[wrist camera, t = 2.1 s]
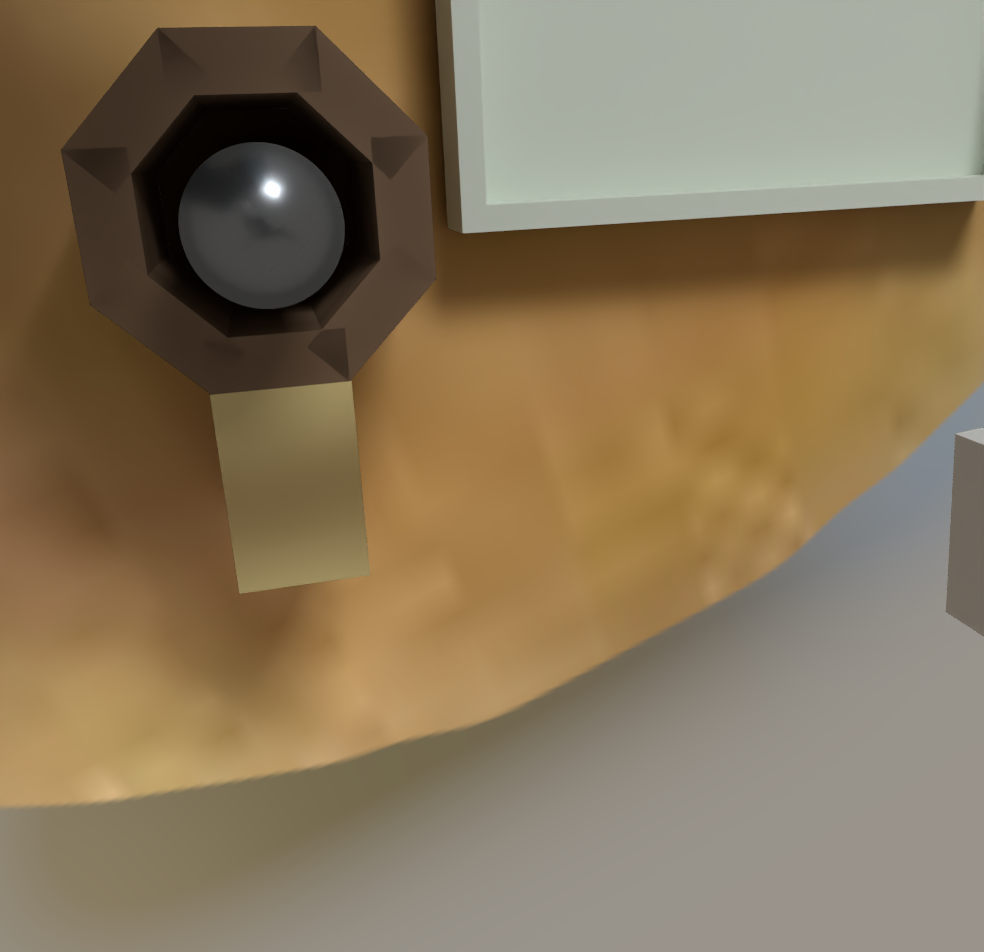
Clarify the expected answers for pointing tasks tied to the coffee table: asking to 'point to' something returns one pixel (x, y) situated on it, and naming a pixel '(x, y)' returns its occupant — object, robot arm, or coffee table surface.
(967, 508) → the robot arm
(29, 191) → the coffee table surface
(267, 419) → the brown octagonal handled piece
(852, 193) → the tray
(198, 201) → the cylinder
